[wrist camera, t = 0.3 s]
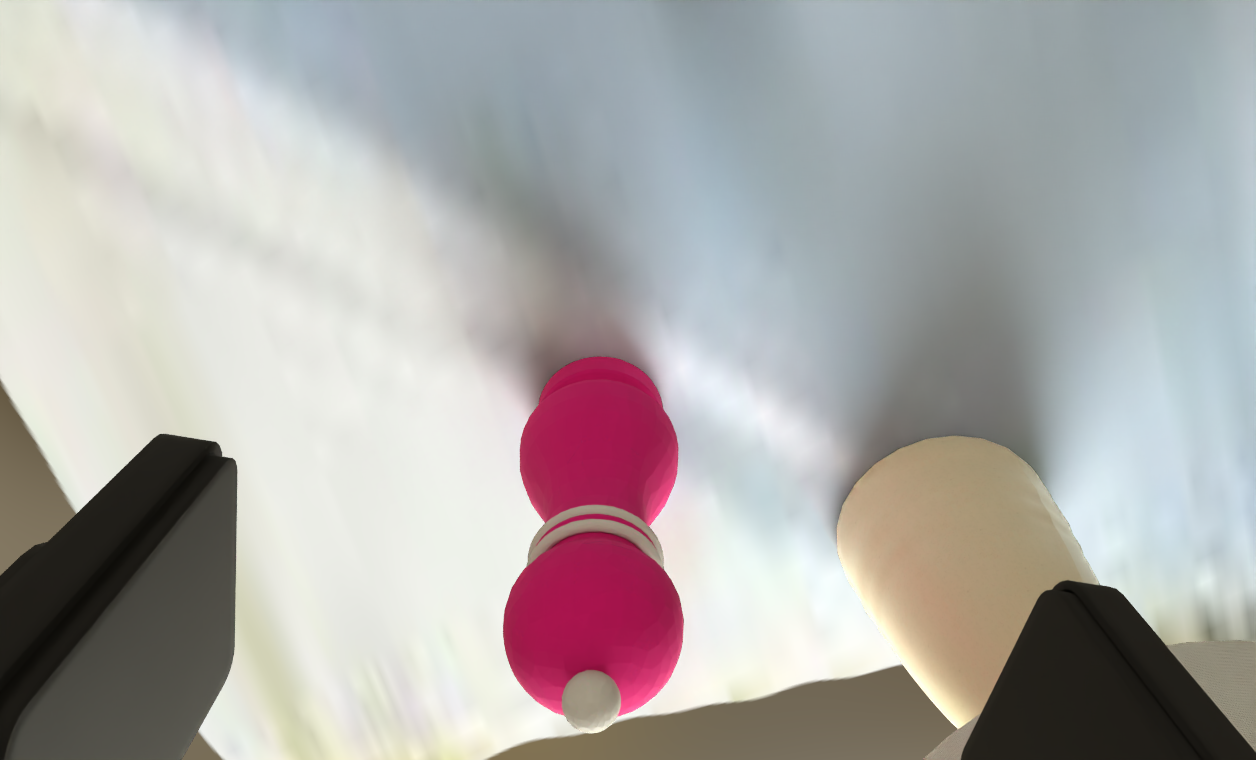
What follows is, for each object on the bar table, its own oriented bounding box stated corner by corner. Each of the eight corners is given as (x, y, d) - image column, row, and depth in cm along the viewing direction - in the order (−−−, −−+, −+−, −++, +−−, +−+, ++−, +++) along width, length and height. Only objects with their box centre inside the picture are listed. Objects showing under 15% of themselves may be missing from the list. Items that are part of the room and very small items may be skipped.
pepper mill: (669, 340, 41) (712, 617, 23) (675, 469, 44) (718, 804, 26) (520, 350, 42) (447, 634, 23) (536, 478, 45) (483, 818, 26)
